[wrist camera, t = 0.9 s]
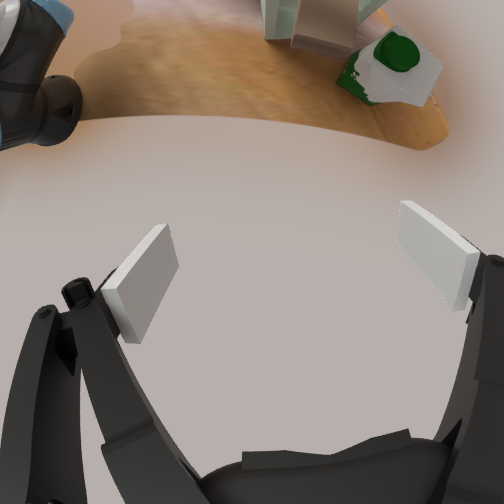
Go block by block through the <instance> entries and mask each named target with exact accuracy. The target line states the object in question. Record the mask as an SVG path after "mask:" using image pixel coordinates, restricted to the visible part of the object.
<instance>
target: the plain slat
mask: <svg viewBox="0 0 504 504" xmlns="http://www.w3.org/2000/svg"><path fill="white" fill-rule="evenodd" d="M359 2H360V0H299V2H298V7H297V12H296V17H295V23H294V28H293V33H292V38H291V44H290V47H292V48H296V49H301V50H305V51H310V52H314V53H318V54H322V55H326V56H329V57H333V58H336V59H339V58H341V57H342V56H343V55H345V54H346V53H348V52H349V51H350V50H352V49H353V45H354V38H355V32H356V25H357V17H358V10H359Z"/></svg>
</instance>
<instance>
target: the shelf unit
mask: <svg viewBox="0 0 504 504" xmlns="http://www.w3.org/2000/svg"><path fill="white" fill-rule="evenodd" d="M387 1H388V0H360V2H359V10H358V17H357V25H356V27H357V26H358V25H359V24H360V23H361V22H362V21H364V20H365V19H366V18H367V17H368V16H370V15H371V14H372V13H373V12H374V11H376V10H377V9H378V8H379V7H380V6H382V5H383V4H384V3H385V2H387ZM298 2H299V0H260V5H261V13H262V21H263V30H264V39H265V40H270V39H291V38H292V33H293V28H294V23H295V17H296V12H297V7H298Z"/></svg>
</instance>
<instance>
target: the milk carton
mask: <svg viewBox="0 0 504 504" xmlns="http://www.w3.org/2000/svg"><path fill="white" fill-rule="evenodd" d="M443 67H444V65H443V64H442V63H441V62H440V61H439V60H438V59H437V58H436V57H435V56H434V55H432V54H431V53H430V51H429V50H428V49H427V48H426V47H425V46H423V45H422V44H420V43H419V42H418V41H417V40H416V39H414V38H413V37H412V36H411V35H409V34H408V33H407V32H405V31H404V30H403V29H401V28H400V27H399V26H397V25H395V26H394V27H392V28H391V29H390V30H388V31H387V32H386V33H384V34H383V35H382V36H381V37H379V38H378V39H377V40H375V41H374V42H372V43H370V44H369V45H367V46H365V47H364V48H362V49H361V50H359V51H357V52H356V53H354V54H353V56H352V57H351V59H350V60H349V62H348V64H347V65H346V67H345V69H344V71H343V72H342V74H341V76H340V78H339V80H338V81H337V84H338V85H340V86H341V87H343V88H345V89H346V90H348V91H349V92H351V93H352V94H354V95H355V96H357V97H358V98H360V99H361V100H363V101H364V102H365V103H367V104H368V105H370V106H372V105H375V104H379V103H383V102H403V103H407V104H411V105H415V106H419V107H422V108H423V106H424V104H425V102H426V101H427V99H428V97H429V95H430V93H431V91H432V89H433V87H434V85H435V83H436V81H437V79H438V77H439V75H440V73H441V71H442V69H443Z"/></svg>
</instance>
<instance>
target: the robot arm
mask: <svg viewBox="0 0 504 504" xmlns="http://www.w3.org/2000/svg"><path fill="white" fill-rule="evenodd" d="M73 19H74V13H73V11H72V10H71V9H70V8H69V7H68V6H67V5H65V4H64V3H62V2H60V1H58V0H5V1H4V2H2V3H1V4H0V151H3V150H6V149H9V148H12V147H16V146H19V145H23V144H26V143H34V144H38V145H41V146H52V145H56V144H59V143H61V142H63V141H64V140H66V139H67V138H68V137H69V136H70V135H71V133H72V132H73V131H74V129H75V127H76V125H77V123H78V120H79V117H80V113H81V105H82V101H81V93H80V90H79V87H78V85H77V83H76V82H75V81H74V80H73V79H72V78H70V77H68V76H65V75H52V76H49V77H46V78H44V77H45V74H46V72H47V70H48V68H49V66H50V63H51V62H52V60H53V58H54V56H55V54H56V52H57V50H58V48H59V46H60V44H61V42H62V41H63V39H64V38H65V37H66V33H67V31H68V29H69V27H70V25H71V23H72V22H73ZM397 246H398V247H399V248H400V249H401V250H402V251H403V252H404V253H405V255H406V256H407V257H408V258H409V259H410V260H411V261H412V263H413V264H414V265H415V266H416V267H417V268H418V270H419V271H420V272H421V273H422V274H423V276H424V277H425V278H426V279H427V281H428V282H429V283H430V284H431V285H432V287H433V288H434V289H435V290H436V292H437V293H438V294H439V296H440V297H441V298H442V299H443V301H444V302H445V303H446V304H447V306H448V307H449V309H450V310H451V311H452V312H454V311H458V310H462V309H465V306H466V304H467V300H468V297H469V298H470V299H471V300H472V301H473V303H472V306H471V310H470V312H469V315H468V318H467V321H466V323H468V328H467V334H466V339H465V343H464V348H463V353H462V357H461V361H460V365H459V369H458V372H457V376H456V380H455V383H454V386H453V390H452V393H451V396H450V399H449V402H448V405H447V408H446V411H445V414H444V416H443V419H442V422H441V424H440V427H439V430H438V432H437V434H436V436H435V437H434V439H433V440H429V439H423V438H411V436H410V433H409V429H404V430H401V431H397V432H394V433H390V434H386V435H382V436H377V437H373V438H370V439H368V440H366V441H364V442H361V443H359V444H357V445H354V446H352V447H350V448H347V449H345V450H342V451H340V452H337V453H335V454H331V455H321V454H310V453H302V452H293V451H287V450H280V451H259V452H258V451H254V452H242V461H241V462H236V463H233V464H229V465H226V466H223V467H221V468H219V469H216V470H215V471H213V472H211V473H209V474H207V475H206V476H204V477H203V478H201V477H200V476H199V474H198V473H197V472H196V471H195V470H194V468H193V467H192V466H191V465H190V463H189V462H188V461H187V459H186V458H185V457H184V455H183V454H182V452H181V451H180V449H179V448H178V447H177V445H176V444H175V442H174V441H173V439H172V438H171V436H170V435H169V433H168V432H167V430H166V429H165V427H164V425H163V424H162V422H161V421H160V419H159V417H158V416H157V414H156V413H155V411H154V409H153V407H152V406H151V404H150V402H149V400H148V399H147V397H146V395H145V393H144V392H143V390H142V388H141V386H140V384H139V383H138V381H137V379H136V377H135V375H134V373H133V371H132V369H131V367H130V365H129V363H128V361H127V359H126V357H125V355H124V353H123V351H122V349H121V347H120V344H119V343H118V341H117V338H118V335H119V334H120V333H121V335H122V337H123V339H124V341H125V343H136V344H141V342H142V339H143V338H144V335H145V333H146V331H147V329H148V327H149V325H150V322H151V321H152V319H153V317H154V315H155V312H156V310H157V308H158V306H159V304H160V302H161V300H162V298H163V296H164V294H165V292H166V290H167V288H168V286H169V284H170V282H171V280H172V279H173V277H174V275H175V273H176V271H177V269H178V267H179V265H178V261H177V257H176V253H175V249H174V246H173V242H172V238H171V234H170V230H169V225H168V223H165V224H158V225H155V226H154V227H153V228H152V229H151V231H150V232H149V233H148V234H147V235H146V236H145V237H144V238H143V239H142V241H141V242H140V243H139V244H138V245H137V246H136V247H135V249H134V250H133V251H132V252H131V253H130V254H129V255H128V257H127V258H126V259H125V260H124V261H123V262H122V264H121V265H120V266H119V267H117V268H116V269H115V270H113V271H112V272H111V273H110V274H109V275H108V277H107V279H105V280H104V281H103V283H102V284H101V285H100V286H99V287H98V289H97V290H96V291H95V292H94V290H93V288H92V285H91V283H90V281H89V279H88V278H85V277H82V278H78V279H75V280H73V281H71V282H69V283H68V284H66V285H65V286H64V287H63V289H62V291H61V293H62V295H63V297H64V299H65V301H66V303H67V306H68V308H69V310H70V311H68V312H64V313H59V312H58V310H57V308H56V306H55V305H47V306H43V307H41V308H40V309H38V311H37V312H36V313H35V314H34V316H33V318H32V321H31V323H30V326H29V329H28V331H27V334H26V337H25V340H24V343H23V346H22V349H21V353H20V356H19V359H18V362H17V366H16V370H15V373H14V377H13V381H12V385H11V389H10V394H9V398H8V402H7V407H6V413H5V418H4V424H3V431H2V438H1V448H0V504H87V494H86V487H85V480H84V472H83V463H82V451H81V434H80V379H81V378H80V377H81V368H82V372H83V376H84V380H85V383H86V387H87V390H88V393H89V397H90V400H91V403H92V406H93V409H94V412H95V415H96V418H97V421H98V423H99V426H100V429H101V431H102V434H103V436H104V439H105V444H102V445H101V451H102V454H103V457H104V459H105V462H106V464H107V466H108V469H109V471H110V473H111V475H112V477H113V480H114V482H115V484H116V486H117V488H118V490H119V492H120V494H121V496H122V498H123V499H124V502H125V504H504V258H503V257H501V256H498V255H488V256H486V255H485V254H484V253H482V252H481V251H480V250H479V249H478V248H476V247H475V246H474V245H473V244H472V243H471V242H469V241H468V240H467V239H465V238H464V237H463V236H461V235H459V234H457V233H456V232H455V231H454V230H452V229H451V228H450V227H448V226H447V225H446V224H444V223H443V222H442V221H440V220H439V219H438V218H436V217H435V216H433V215H432V214H431V213H429V212H428V211H426V210H425V209H423V208H422V207H421V206H419V205H417V204H416V203H415V202H413V201H411V200H406V201H400V212H399V228H398V240H397Z"/></svg>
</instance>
